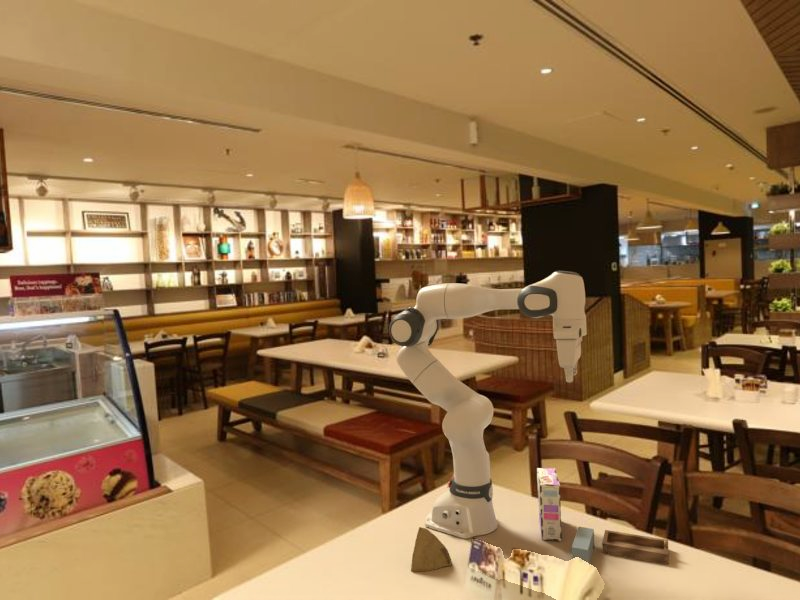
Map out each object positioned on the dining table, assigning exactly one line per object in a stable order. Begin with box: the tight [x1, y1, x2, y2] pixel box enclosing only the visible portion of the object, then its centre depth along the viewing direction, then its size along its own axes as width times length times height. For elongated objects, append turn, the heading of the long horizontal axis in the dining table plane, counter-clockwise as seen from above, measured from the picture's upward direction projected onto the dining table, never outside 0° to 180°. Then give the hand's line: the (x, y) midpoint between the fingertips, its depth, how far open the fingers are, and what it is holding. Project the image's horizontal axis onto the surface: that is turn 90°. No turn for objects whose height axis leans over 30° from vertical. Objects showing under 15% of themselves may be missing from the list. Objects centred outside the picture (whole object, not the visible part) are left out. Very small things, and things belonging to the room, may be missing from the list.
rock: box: [410, 526, 453, 573], centre depth 139 cm, size 11×9×10 cm
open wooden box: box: [601, 529, 670, 565], centre depth 142 cm, size 16×8×4 cm, turn 63°
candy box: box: [536, 467, 563, 542], centre depth 156 cm, size 14×6×16 cm, turn 168°
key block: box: [571, 526, 595, 564], centre depth 141 cm, size 4×12×5 cm, turn 153°
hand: (571, 378), depth 145 cm, fingers open, 8 cm apart
